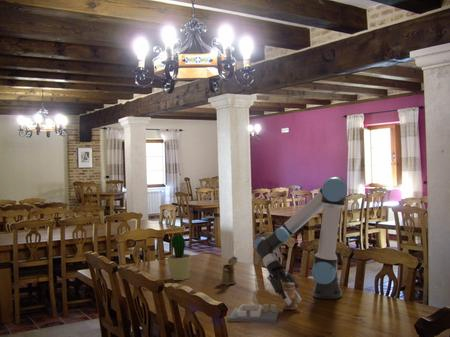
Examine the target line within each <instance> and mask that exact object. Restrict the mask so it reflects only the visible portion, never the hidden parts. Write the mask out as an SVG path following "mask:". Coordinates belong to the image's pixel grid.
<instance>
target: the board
mask: <svg viewBox="0 0 450 337" xmlns="http://www.w3.org/2000/svg"><path fill="white" fill-rule="evenodd" d="M269 305H270V306H269ZM279 313H280V308H277V304H275V303H274V304H273V303H272V304H269V303H263V304H240V306H239V307H234V308H233V310H232V311H231V313H230V315H229V316H228V319H227V320H229V321H228V322H235V321H242V322H243V321H244V323H245V322H246V323H248V322H249V323H275V324H276V323H277V320H278V316H279ZM242 322H241V323H242Z"/></svg>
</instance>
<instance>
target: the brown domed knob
mask: <svg viewBox="0 0 450 337" xmlns="http://www.w3.org/2000/svg"><path fill="white" fill-rule="evenodd" d="M284 291H286V293H287V295H288V296H289V298H290V300H291V304H290V305H288V304H287V302H286V301H285V299H283V300H284V303H283V304H284V305H283V310H286V311H294V310H297V309H298V305H297V300H296V297H295V283H285V282H283V292H284Z"/></svg>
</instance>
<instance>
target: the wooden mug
mask: <svg viewBox="0 0 450 337" xmlns="http://www.w3.org/2000/svg"><path fill="white" fill-rule="evenodd" d="M237 262H238V258H237V256H232V257H231V258H229V259H228V261H227V264H223V265H222V276H221V283H222V284H226V285H225V286H231V285H230V284H234V285H236V284H237V279H236V275H235V268H234V266H235V265H236V264H237ZM221 283H220V284H221ZM235 283H236V284H235ZM222 284H221V285H222Z"/></svg>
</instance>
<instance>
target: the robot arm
mask: <svg viewBox="0 0 450 337" xmlns="http://www.w3.org/2000/svg"><path fill="white" fill-rule="evenodd" d="M347 191H348V186H347V182H346V181H345V179H343V178H342V177H340V176H331V177H329V178H327V179H326V180H325V181H324V183H323V184H322V186H321V188H320V189H319V190H318V193H317V194H316V195H315V196H314V197H312V198H311V199H310V200H309V201H308V202H306V203H305V204H304V205H303V206H302V207H301V208H300V209H299V210H298V211H297V212H295V213H294V214H293V215H292V216H291V217H289V218H288V219H287V220H286V221H285V222H284V223H283V224H282V225H281V226H279V227H278V228H277V229H276V230H274V232H272V233H271V234H270V235H268V236H267V237H266V238H265V237H264V236H263V237H262V236H261V237H258V238H256V239H255V241H254V242H253V247H254V249H255V250H256V252H257V255H259V258H260V259H261V261H262V263H263V265H264V267H265V268H266V270H267V272H268V273H269V274H268V275H267V280H268V281H269V282H270V284H271V286H272V288H273V290H274V291H275V293H276V294H278V295H279V296H281V297H282V299H283V300H284V299H285V301H286V302H287V304H288V305H290V304H291V300H290V298H289V296H288V295H287V293H286V291H284V286H283V285H282V282H283V283H295V297H296V303H300V302H301V301H302V298H301V296H300V294H299V291H298V290H297V289H298V287H299V284H298V283H297V281H296V280H295V279H294V277H293V275H292V274H291V271H290V270H287V271H285V269H283V266H282V264H281V262H280V261H279V258H278V256H276V254H275V252H274V251H275V250H277V249H278V248H279V247H281V246H282V245H283V244H284V243H286V242H287V241H288V240H289V239H290V238H291V236H293V235H294V234H295V233H296V232H297V231H298V230H299V229H301V228H302V227H303V226H304V225H305V224H306V223H308V222H309V221H310V220H311V219H312V218H313V217H315V216H316V215H317V214H318V213H320V211H322V217H321V226H320V227H321V228H320V233H319V239H318V240H319V242H318V249H317V252H316V253H315V254H314V255H313V256H314V257H313V265H312V267H311V275H312V279H313V280H314V281H315V283H314V287H313V290H312V295H313V297H315V299H319V300H320V299H321V300H336V299H340V298H341V297H342V296H343V295H342V294H343V292H342V289H341V286H340V283H339V276H338V256H337V253H336V249H337V244H338V243H337V242H338V241H337V240H338V235H339V227H340V226H339V225H340V217H341V211H342V208H343V207H344V206H345V204H346V197H347V196H346V195H347Z"/></svg>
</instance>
